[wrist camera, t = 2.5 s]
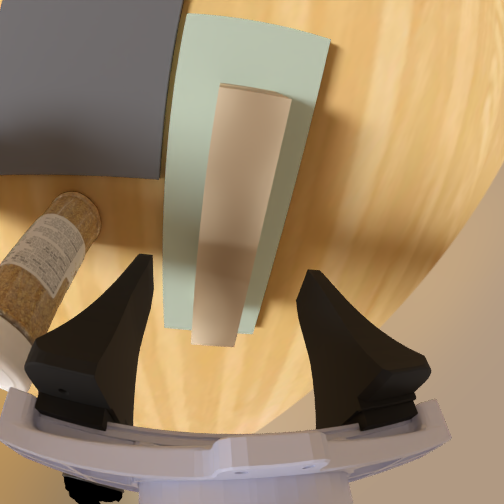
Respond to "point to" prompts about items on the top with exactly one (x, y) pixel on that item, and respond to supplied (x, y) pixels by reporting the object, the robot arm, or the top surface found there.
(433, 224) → the top surface
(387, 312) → the top surface
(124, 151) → the rubber mat
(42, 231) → the sprinkles bottle
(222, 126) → the beige long block
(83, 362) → the robot arm
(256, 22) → the sage board
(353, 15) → the top surface
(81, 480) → the bowl of black rocks
